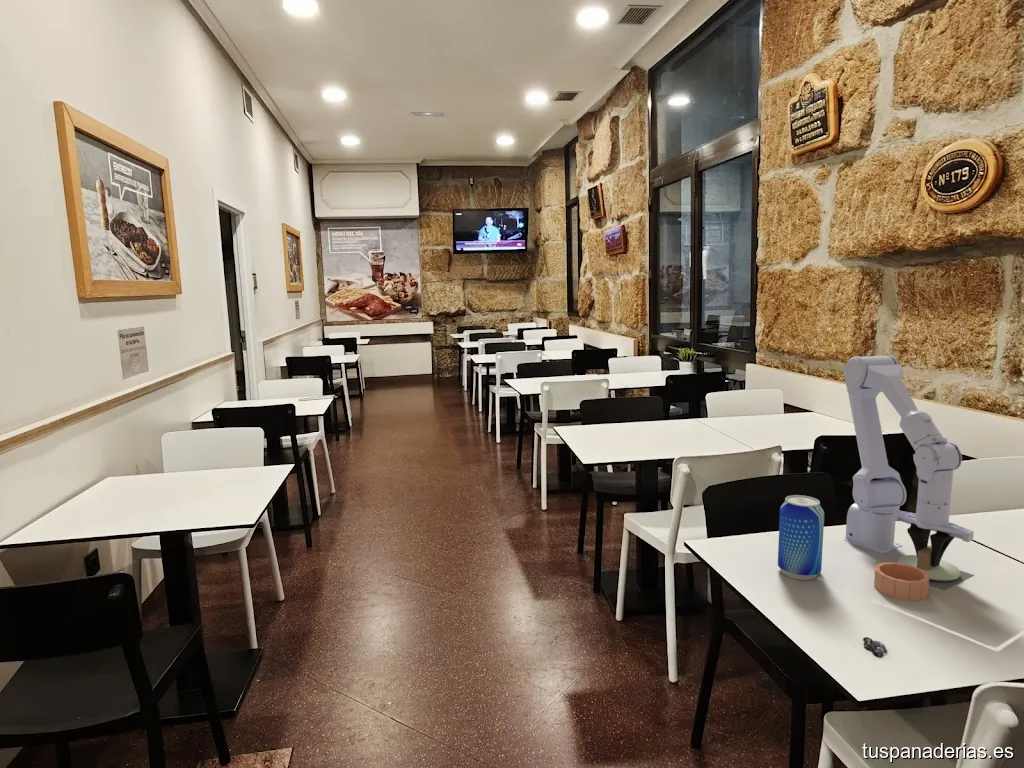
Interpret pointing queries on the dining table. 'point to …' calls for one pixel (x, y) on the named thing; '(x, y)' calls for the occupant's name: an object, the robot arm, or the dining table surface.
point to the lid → (923, 562)
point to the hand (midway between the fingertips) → (928, 563)
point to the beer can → (800, 537)
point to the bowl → (901, 581)
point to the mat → (947, 584)
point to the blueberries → (874, 647)
